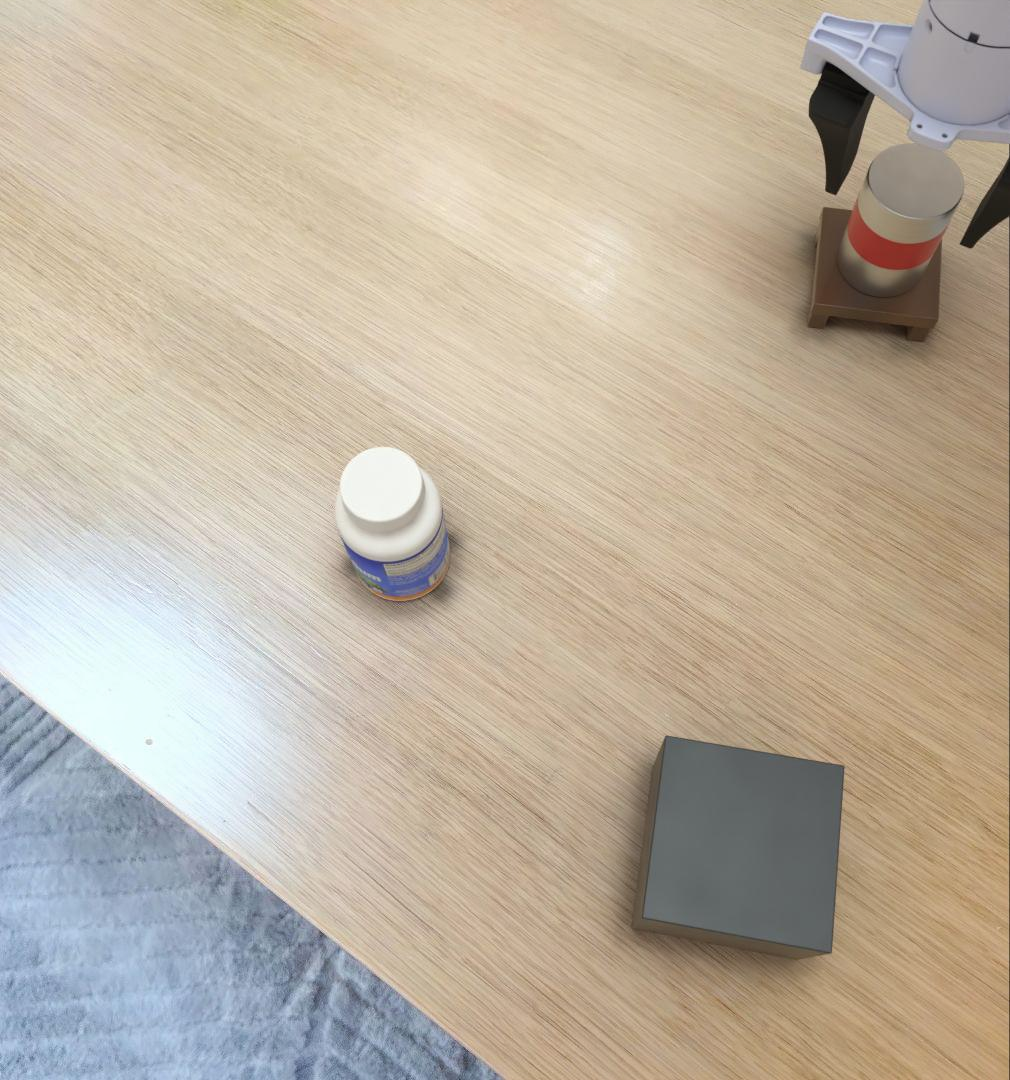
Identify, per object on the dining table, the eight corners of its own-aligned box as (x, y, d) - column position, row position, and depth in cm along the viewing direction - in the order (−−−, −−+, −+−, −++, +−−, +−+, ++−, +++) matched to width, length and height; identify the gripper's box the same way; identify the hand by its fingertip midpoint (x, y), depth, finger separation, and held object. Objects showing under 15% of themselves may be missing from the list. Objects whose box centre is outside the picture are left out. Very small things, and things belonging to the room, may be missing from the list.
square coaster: (811, 792, 56) (845, 765, 50) (798, 960, 53) (832, 954, 47) (652, 765, 57) (665, 734, 51) (631, 928, 54) (641, 918, 48)
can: (937, 246, 65) (979, 163, 59) (905, 311, 64) (944, 233, 57) (856, 214, 67) (888, 129, 60) (822, 277, 65) (852, 196, 59)
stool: (930, 246, 68) (943, 220, 66) (925, 343, 66) (938, 319, 64) (814, 232, 69) (823, 206, 67) (805, 328, 67) (814, 303, 64)
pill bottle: (339, 539, 63) (303, 461, 54) (426, 497, 63) (405, 414, 54) (380, 621, 61) (350, 554, 52) (469, 577, 61) (455, 504, 52)
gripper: (800, 4, 49) (749, 209, 61) (1134, 123, 45) (1008, 314, 58) (863, -100, 51) (802, 119, 63) (1185, 8, 48) (1053, 215, 60)
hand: (903, 206), depth 61 cm, fingers open, 7 cm apart
